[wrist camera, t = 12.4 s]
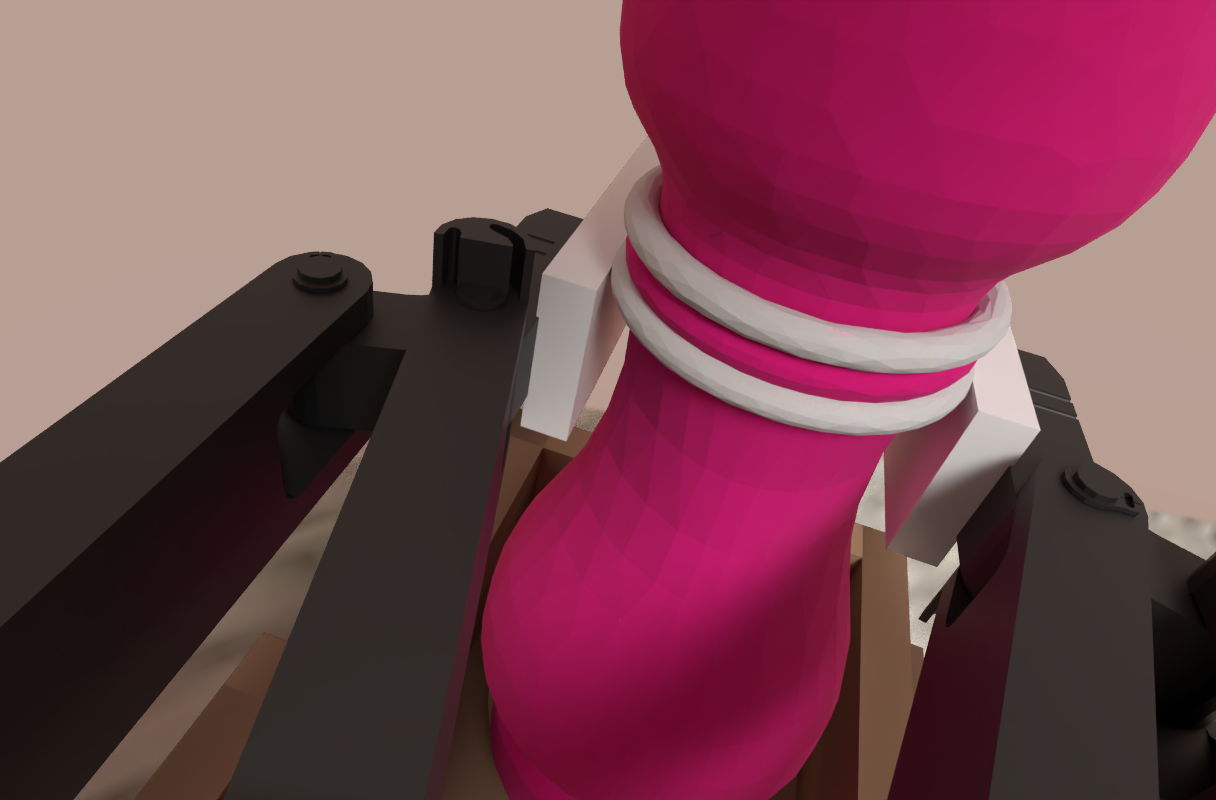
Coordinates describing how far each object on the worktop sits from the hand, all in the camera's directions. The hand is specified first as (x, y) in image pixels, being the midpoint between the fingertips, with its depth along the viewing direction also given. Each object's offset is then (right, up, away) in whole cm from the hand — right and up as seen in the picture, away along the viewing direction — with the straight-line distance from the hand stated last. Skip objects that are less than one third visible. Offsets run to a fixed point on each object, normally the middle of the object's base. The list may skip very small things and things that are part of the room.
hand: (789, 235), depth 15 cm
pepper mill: (-3, -12, +3) cm, 12 cm away
